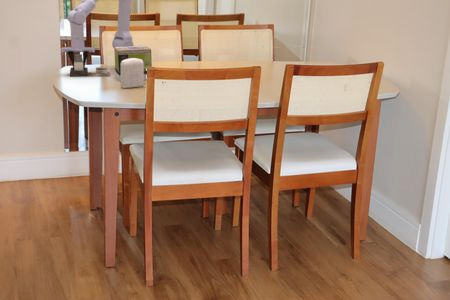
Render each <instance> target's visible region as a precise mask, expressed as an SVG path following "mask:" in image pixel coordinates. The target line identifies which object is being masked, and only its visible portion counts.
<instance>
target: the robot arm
mask: <svg viewBox="0 0 450 300" xmlns="http://www.w3.org/2000/svg"><path fill="white" fill-rule="evenodd" d="M99 1H100V0H81V2H80V4H78V6H75V8H74V9H73V10H71V11H69V12H68V15H67V21H68V23H69V26H70V29H69V30H70V41H71V43H70V45H71V46H68V47H66V46H65V47H61V48H60V51H61V53H67V56H68V58H69V59H70V62H71V65H72V68H73V69H74V61H75V53H82V61H83V68H85V67H86V62H87V58H88V56H89V53H95V50H96V49H95V47H94V46H93V47H91V46H90V47H89V46H85V29H84V28H85V26H84V24H85V23H86V20H87V17H88V16H89V15H90V13H92V11H94V9H96V4H97V3H98V2H99ZM131 3H132V0H118V13H117V29H116V30H117V31H116V32H115V34H114V36H113V39H112V42H111V44H112V45H111V46H112V48H113V49H114V47H127V46H135V45H134V42H133V36H132V34H131V32H130V23H131V5H132V4H131Z"/></svg>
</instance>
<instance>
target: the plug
mask: <svg viewBox="0 0 450 300" xmlns="http://www.w3.org/2000/svg"><path fill="white" fill-rule="evenodd" d="M75 70H84V68H83V53H82V54H81V53H79V54H77V53H74V71H75Z"/></svg>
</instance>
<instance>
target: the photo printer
mask: <svg viewBox="0 0 450 300" xmlns="http://www.w3.org/2000/svg"><path fill="white" fill-rule="evenodd" d="M144 82H145V80H144V63H143V60H141V59H138V58H129V59H125V60H123V61H121V81H120V88H122V89H129V88H139V87H144V85H145V83H144Z"/></svg>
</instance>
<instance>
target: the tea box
mask: <svg viewBox="0 0 450 300" xmlns="http://www.w3.org/2000/svg"><path fill="white" fill-rule="evenodd" d="M113 49H114V51H113V52H114V72H115V77H116V79H117V80H118V81H119V82H121V61H123V60H125V59H129V58H138V59H141V60H143V63H144V81H147V80H146V75H147V71H146V68H147V67H153V65H152V64H153V63H152V62H153V61H152V49H151V48H150V47H149V46H148V45H134V46H127V47H114V48H113Z"/></svg>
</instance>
